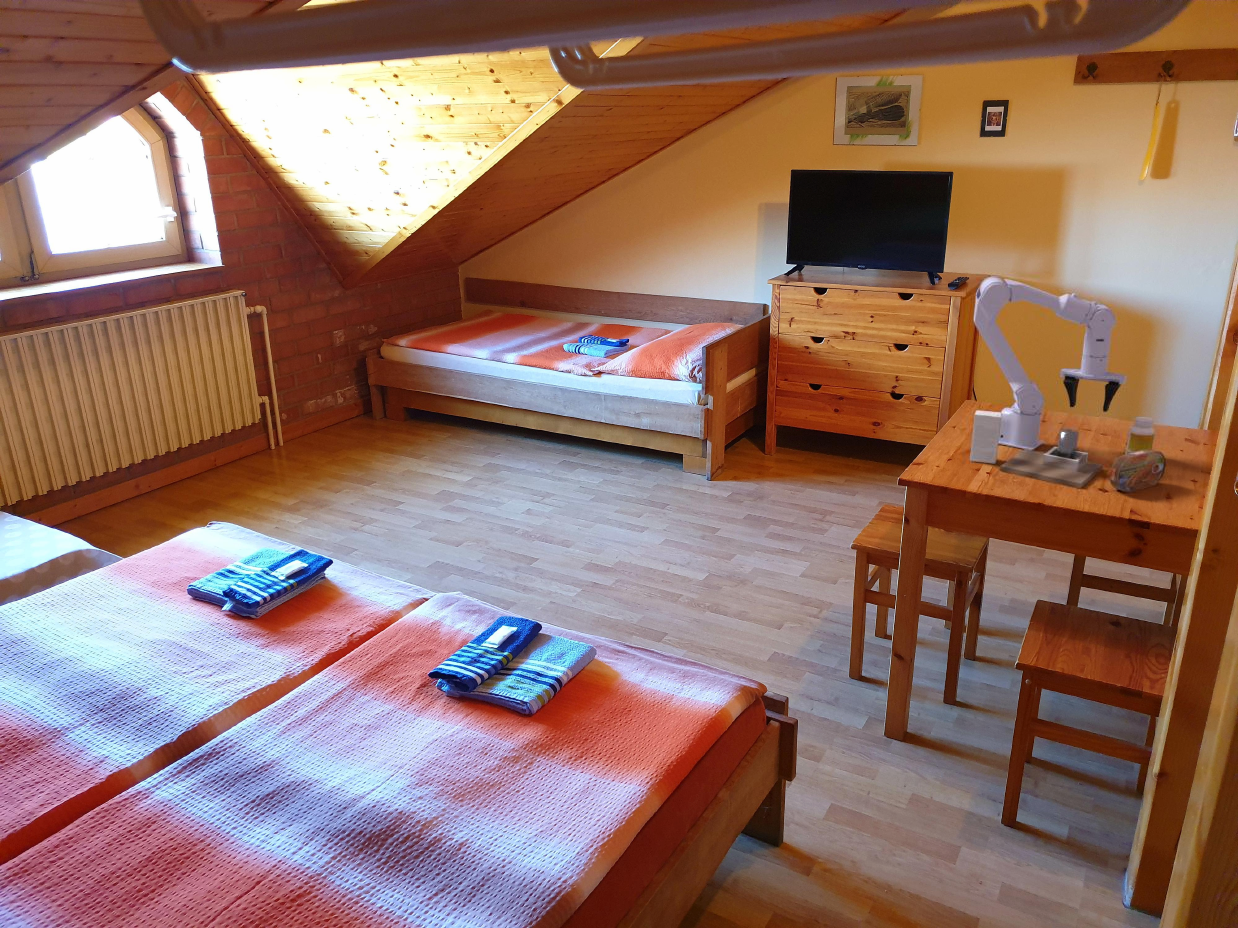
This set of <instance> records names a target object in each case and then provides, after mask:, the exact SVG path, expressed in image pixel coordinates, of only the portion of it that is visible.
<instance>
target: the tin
mask: <svg viewBox="0 0 1238 928" xmlns="http://www.w3.org/2000/svg"><path fill="white" fill-rule="evenodd" d="M1166 467H1167V462H1166V457H1165V455H1164V453H1163V452H1161V451H1159V450H1153V449H1152V450H1142V451H1138V452H1134V453H1129V454H1122V455H1120V456H1118V457H1117V458H1116V459H1115V461H1114V462H1113V464H1112V465H1111V469H1110V475H1109V482H1110V484H1111V487H1112V488H1114V489H1115V490H1118V491H1122V492H1124V493H1131V492H1135V491H1140V490H1143V489H1147V488H1151V487H1154V486H1156V485H1157V484H1158V483H1159V482H1160V481H1161V479H1162V478H1163V476H1164V473H1165V471H1166Z"/></svg>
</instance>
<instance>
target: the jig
mask: <svg viewBox="0 0 1238 928" xmlns="http://www.w3.org/2000/svg"><path fill="white" fill-rule="evenodd" d="M1057 447H1058V446H1054V447H1052V448H1051V449H1050V450H1048V451H1047V452H1042V451H1041V452H1040V451H1037V450H1036V451H1035V450H1027V449H1023V450H1021V451H1020V452H1018V453H1017V454H1015V455H1014V456H1013V457H1011V458H1010V459H1008V460H1007V461H1005V462H1004V463H1003V464H1001V465H1000V467H999V471H1000V472H1003V473H1008V474H1012V475H1013V474H1014V475H1016V476H1017V475H1018V476H1022V477H1027V478H1030V479H1031V478H1032V479H1036V480H1040V481H1043V482H1044V481H1046V482H1050V483H1054V484H1058V485H1064V486H1067V487H1072V488H1077V489H1082V488H1083V487H1084V486H1085V485H1086V484H1087V483H1088V482H1089V481H1091V479H1092V478H1094V477H1095V476H1096V475H1097V474H1098V473H1099V472H1100V471H1102V469H1103V464H1102V463H1101V464H1100V463H1096V462H1091V461H1088V455H1089V453H1088V452H1083V451H1079V450H1076V454H1075V460H1073V459H1068V458H1063V457H1058V456H1056V454H1057Z"/></svg>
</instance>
